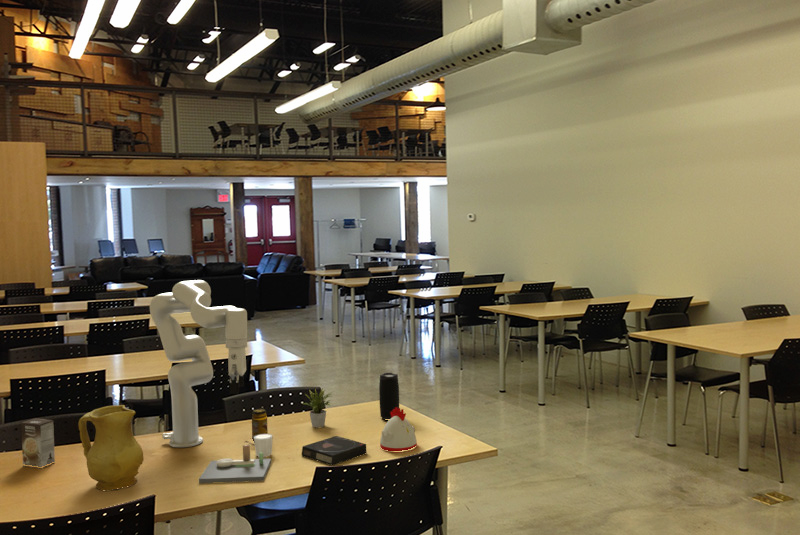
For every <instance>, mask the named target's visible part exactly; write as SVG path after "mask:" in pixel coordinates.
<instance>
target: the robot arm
mask: <svg viewBox="0 0 800 535" xmlns="http://www.w3.org/2000/svg"><path fill="white" fill-rule="evenodd" d="M171 290H172V291H171V292H164V293H159V294H157V295H155V296H153V297H152V299H151V300H150V302H149V303H150V304H149V313H150V316H151V320H152V321H153V323H154V325H155V327H156V328H157V331H158V334H159V337H160V341H161V344H162V347H163V351H164V354H165V357H166V358H167V360H168V361H170V362H180V361H185V362H181V363H177V364H175V365H173V366H171V367H170V368H169V369H168V372H167V379H168V383H169V389H170V396H171V417H172V419H171V420H172V432H163V433H162V434H161V436H162V439H163V440H169V441H168V445H169V446H170V447H172V448H178V449H179V448H180V449H181V448H190V447H195V446H197V445H200V444H201V443H203V442H204V439H203V437H202V436H201V435H200V434H199V414H198V411H199V410H198V409H199V408H198V396H197V394H196V392H195V391H194V390H193V388H192V387H194V386H199V385H203V384H207V383H210V382H211V380H212V379H213V377H214V368H213V365H212V362H211V359H210V356H209V351H208V348H207V345H206V343H205V341H204V339H203V337H201V336H199V334H198V335H197V334H190V335H185V334H184V332H183V329H182V326H181V324H180V323H179V321H178V320H177V319H176V318H175V317H173V316H172V314H184V313H190V316H191V318H192V320H193V322H195V324H197V325H198V326H200V327H202V328H205V329H209V330H210V329H211V330H212V329H217V328H223V327H225V348H226V349H227V350H228V356H227V357H228V363H227V364H228V376H229V395H238V394H239V393H240V387H241V388H242V387H244V386H245V385H244V380H245V378H244V377H245V376H244V375H245V373H246V371H247V359H246V355H247V354H246V348H248V312H247V310H246V309H245V308H241V307H236V306H234V305H223V306H222V305H221V306H212V307H211V304H212V298H211V295H212V294H211V293H212V290H211V286H210V285H209V283H208V282H207V281H205V280H202V279H197V280H196V279H194V280H183V281H179V282H177V283H175V284H174V285H173V287H172V289H171ZM187 360H191V361H187ZM186 361H187V362H186Z"/></svg>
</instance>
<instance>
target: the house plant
mask: <svg viewBox="0 0 800 535" xmlns="http://www.w3.org/2000/svg"><path fill="white" fill-rule="evenodd" d="M325 391H326V389H323V388H321V389H320V392H319V393H318V392H317V389H316V388H314V392H315V393H314V392H313V391H311V389H309V394H310V395H308V394H306V393H304V395H305V396H306V398H308V400H309V401H310V402H309V403H308V402H304V403H302V405H307V406H310V407H311V408H312V410H310V411H309V417H310V421H311V422H310V423H311V427H312V428H313V427H316V428H317V429H320V428H319V427H321V428H324V427H325V426H326V425H325V423H326V416H327V410H325V409H324V408H325V407H326V406H329V407H331V404H330V401H331V399H330V400H327V398H329V397H331V396H332V394H333V392H335V391H336V390H335V391H331V392H328V393H327V394H325ZM326 400H327V401H326ZM323 426H324V427H323ZM316 428H315V429H316Z"/></svg>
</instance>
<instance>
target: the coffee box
mask: <svg viewBox="0 0 800 535" xmlns="http://www.w3.org/2000/svg"><path fill="white" fill-rule="evenodd" d="M20 425H21V426H20V427H21V447H22V448H21V450H22V451H21V452H22V454H21V455H22V465H23V464H25V465H32V466H38V467H42V466H45V465H47V464H50V463H52V462H55V463H56V460H55V459H56V458H55V434H54V433H55V431H54V420H52V419H45V418H40V417H39V418H36V417H35V418H32V419H28V420H26V421H23V422H21V423H20Z"/></svg>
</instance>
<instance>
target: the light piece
mask: <svg viewBox="0 0 800 535" xmlns="http://www.w3.org/2000/svg"><path fill="white" fill-rule="evenodd" d="M254 459H255V458H251V445H250V444H249V443H248V444H243V445H242V459H233V458H229V457H228V458H221V459H218V461H217V460H216V461H217V462H216V463H217V467H229V466H232V465H247V464H254Z"/></svg>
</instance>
